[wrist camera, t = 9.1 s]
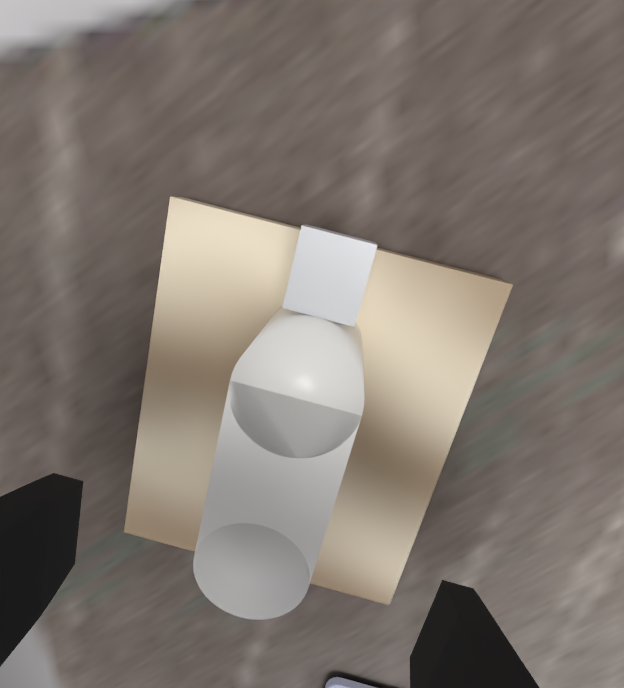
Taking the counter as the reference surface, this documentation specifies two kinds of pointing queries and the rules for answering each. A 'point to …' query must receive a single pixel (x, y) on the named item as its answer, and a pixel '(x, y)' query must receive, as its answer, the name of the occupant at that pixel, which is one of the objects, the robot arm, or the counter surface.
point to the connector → (287, 434)
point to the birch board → (379, 385)
